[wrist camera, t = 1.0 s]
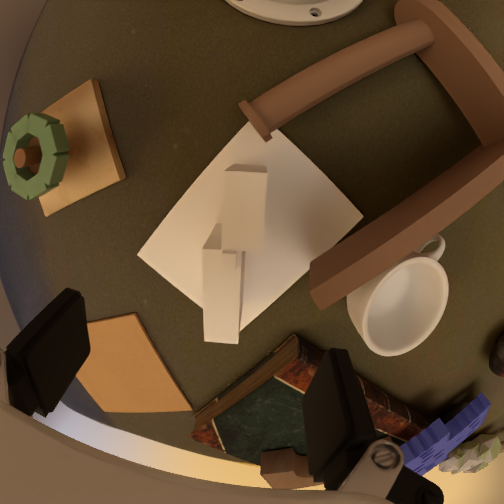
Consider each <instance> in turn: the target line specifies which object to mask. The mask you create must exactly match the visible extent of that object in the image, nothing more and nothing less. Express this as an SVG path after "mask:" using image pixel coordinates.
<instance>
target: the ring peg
mask: <svg viewBox="0 0 504 504" xmlns="http://www.w3.org/2000/svg"><path fill="white" fill-rule="evenodd" d="M42 113H45V114H47V115H49V116H52V117H54V118H56V119H59V120H60V124H63V125H64V129H65V133H66V136H67V140H68V144H69V147H70V150H69V151H67V152H66V153H67V154H69V155H70V156H69V160H68V163H67V166H66V169H65V173H64V176H63V180H62V182H59V186H58V187H56V188H54V189H53V190H51V191H49V192H48V193H46V194H44V195H43V196H40V197H39V200H40V203H41V205H42V208H43V211H44V214H45V217H48V216H50V215H52V214H54V213H56V212H58V211H60V210H62V209H63V208H65V207H67V206H69V205H71V204H73V203H75V202H77V201H79V200H81V199H83V198H85V197H87V196H89V195H91V194H93V193H95V192H97V191H100V190H102V189H104V188H106V187H108V186H110V185H113V184H115V183H117V182H119V181H122V180H124V179H126V175H125V172H124V169H123V166H122V163H121V160H120V157H119V154H118V151H117V148H116V144H115V141H114V138H113V134H112V131H111V128H110V124H109V121H108V117H107V114H106V110H105V106H104V102H103V99H102V95H101V91H100V87H99V83H98V81H97V80H93V79H90V80H88V81H87V82H85V83H84V84H82V85H80V86H79V87H77V88H76V89H74V90H73V91H71V92H70V93H68V94H67V95H65V96H64V97H62V98H61V99H59V100H58V101H57V102H55V103H54V104H52V105H51V106H50V107H48V108H47V109H46V110H44V111H43V112H42ZM42 156H43V154H42V151H41V147H40V143H39V139H38V137H36V136H34V137H33V138H31V139H30V142H29V145H28V147H24V148H19V149H17V150H16V152H15V154H14V163H15V165H16V167H18V168H23V167H27V166H28V167H29V170H30V172H32V173H34V174H35V175H36V174H38V171H39V167H40V164H41V160H42Z"/></svg>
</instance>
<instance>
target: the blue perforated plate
mask: <svg viewBox="0 0 504 504" xmlns="http://www.w3.org/2000/svg"><path fill="white" fill-rule="evenodd" d="M490 405H491V403H490V402H489V400H488V399H487V398H486V397H485V396H484V395H483V394H482V392H481V393H480V394H479V395H478V396H477V397H476V398H475V399H474V400H472V401H471V402H470V404H469V405H468V406H467V407H465V408H464V409H463V410H462V411H461V412H460V413H458V414H457V415H456V416H455V417H454V418H453V419H452V420H450V421H449V422H447V423H446V424H445V425H444V424H443V422H442V421H441V419H440V418H438V419H437V420H435V421H434V422H433V423H432V424H430V426H429V427H427V428H426V429H424V430H422V431H421V433H419V434H418V435H417V436H414V437H413V438H411V440H410V441H408V442H407V443H404V444H403V445H401V446H400V448H401V450H402V452H403V454H404V464H403V465H405V466H406V467H408V468H410V469H411V470H413V471H414V472H416V473H418V474H419V475H421V476H422V475H424V474H425V473H426V472H428V471H430V470H431V469H432V468H433V467H435V466H437V465H438V464H439V463H441V462H442V461H443V460H445V459H446V458H447V456H448V453H449V452H450V451H451V450H453V449H454V448H455V447H456V446H457V445H459V444H460V443H461V442H462V441H463V440H465V439H466V438H467V437H468V436H469V435H470V434H471V433H473V432H474V431H475V430H476V429H477V428H478V427H480V426H481V425H482V423H483V420H484V418H485V416H486V414H487V411H488V410H489V407H490Z"/></svg>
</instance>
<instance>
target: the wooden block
mask: <svg viewBox="0 0 504 504" xmlns="http://www.w3.org/2000/svg"><path fill="white" fill-rule="evenodd" d="M382 439H384V440H389V441H392V440H391V437H390V436H388V437H385V438H382ZM382 439H379V440H382ZM260 474H261V476H262V477H263V478H264V479H265V480H266V481H267V482H268V483H269V485H270V486H271V487H272V488H273V489H288V490H289V489H297V488H304V487H310V486H316V485H322V484H324V482H314V481H313V476H311V475H309V471H308V460H307V456H300V455H298V454H296V453H295V451H294V449H293V448H288V449H282V450H275V451H267V452H261V471H260Z"/></svg>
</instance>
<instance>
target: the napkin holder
mask: <svg viewBox="0 0 504 504" xmlns="http://www.w3.org/2000/svg"><path fill="white" fill-rule="evenodd" d="M270 134H271V136H272V139H271V140H269V141H268V142H265V141H264V140H263V139H262V137H261V136H260V135H259V133H258V132H257V131H256V129H255V128H254V127H253V125H252V124H251V122H250V121H248V122H247V123H246V125H245V126H244V127H243V128H242V129H241V130H240V131H239V132H238V133H237V134H236V135H235V136H234V137H233V138H232V140H231V141H230V142H229V143H228V144H227V145H226V146H225V147H224V148H223V149H222V151H221V152H220V153H219V154H218V155H217V156H216V157H215V158H214V160H213V161H212V162H211V163H210V164H209V165H208V166H207V168H206V169H205V170H204V171H203V172H202V173H201V174H200V176H199V177H198V178H197V179H196V180H195V182H194V183H193V184H192V185H191V186H190V188H189V189H188V190H187V191H186V192H185V194H184V195H183V196H182V197H181V198H180V200H179V201H178V202H177V203H176V205H175V206H174V207H173V208H172V210H171V211H170V212H169V213H168V215H167V216H166V217H165V218H164V220H163V221H162V222H161V224H160V225H159V226H158V228H157V229H156V230H155V231H154V233H153V234H152V235H151V237H150V238H149V239H148V241H147V242H146V243H145V245H144V246H143V247H142V249H141V250H140V251H139V253H138V254H137V255H138V256H139V257H140V258H141V259H143V260H144V261H145V262H146V263H147V264H148V265H150V266H151V267H152V268H153V269H154V270H156V271H157V272H158V273H159V274H160V275H162V276H163V277H164V278H165V279H166V280H168V281H169V282H170V283H171V284H173V285H174V286H175V287H176V288H177V289H179V290H180V291H181V292H182V293H184V294H185V295H186V296H187V297H189V298H190V299H191V300H193V301H194V302H195V303H196V304H198V305H199V306H200V307H201V308H203V319H204V341H208V342H219V343H231V344H238V340H239V332H240V331H241V330H242V329H243V328H244V327H245V326H247V325H248V324H249V323H250V322H251V321H252V320H253V319H255V318H256V317H257V316H258V315H259V314H260V313H261V312H263V311H264V310H265V309H266V308H267V307H268V306H269V305H271V304H272V303H273V302H274V301H275V300H276V299H277V298H278V297H279V296H281V295H282V294H283V293H284V292H285V291H286V290H287V289H288V288H289V287H290V286H292V285H293V284H294V283H295V282H296V281H297V280H298V279H299V278H300V277H301V276H302V275H304V274H305V273H306V272H307V271H308V270H309V269H310V262H311V261H312V260H314V259H315V258H317V257H318V256H320V255H321V254H323V253H325V252H326V251H328V250H329V249H331V248H332V247H333V246H334V245H335V244H336V243H337V242H338V241H339V240H340V239H342V238H343V237H344V236H345V235H346V234H347V233H348V232H349V231H350V230H351V229H352V228H353V227H354V226H355V225H356V224H357V223H358V222H359V221H360V220H361V219H362V218H363V217H364V216H363V215H362V214H361V213H360V212H359V210H358V209H357V208H356V207H355V206H354V205H353V204H352V203H351V202H350V201H349V199H348V198H347V197H346V196H345V195H344V194H343V193H342V192H341V191H340V190H339V189H338V188H337V187H336V186H335V185H334V184H333V183H332V181H331V180H330V179H329V178H328V177H327V176H326V175H325V174H324V173H323V172H322V171H321V170H320V169H319V168H318V167H317V166H316V165H315V164H314V163H313V162H312V161H311V160H310V159H309V158H308V157H307V156H306V155H305V154H303V153H302V152H301V151H300V150H299V149H298V148H297V147H296V146H295V145H294V144H293V143H292V142H291V141H290V140H289V139H288V138H287V137H285V136H284V135H283V134H282V133H281V132H280V131H279V130H278V129H276V130H275V131H273V132H272V133H270Z"/></svg>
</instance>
